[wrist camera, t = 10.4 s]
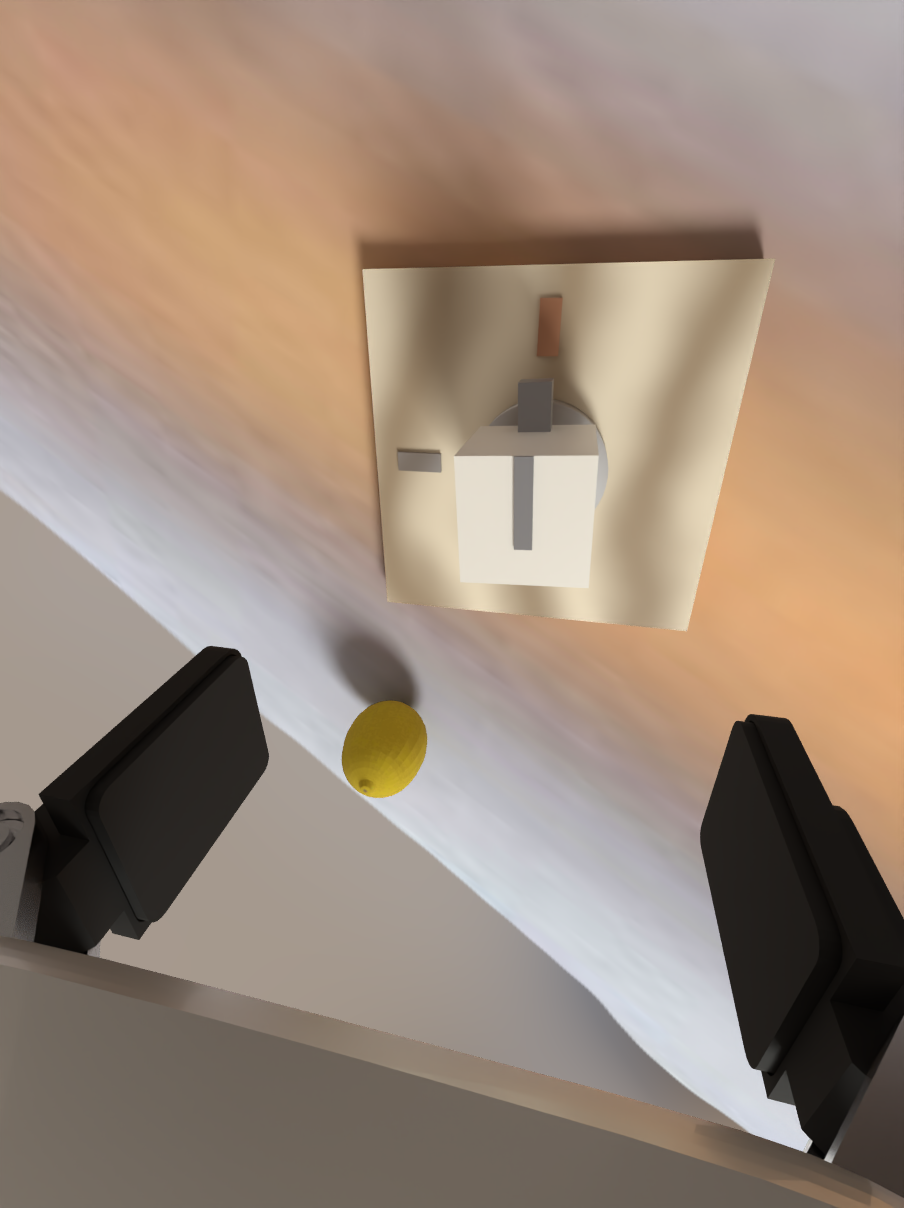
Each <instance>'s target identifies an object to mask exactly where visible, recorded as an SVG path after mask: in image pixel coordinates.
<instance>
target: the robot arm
mask: <svg viewBox="0 0 904 1208" xmlns="http://www.w3.org/2000/svg"><path fill="white" fill-rule="evenodd" d="M268 759H269V753H268V748H267V744H266V740H265V735H264V731H263V727H262V722H261V718H260V714H259V709H258V705H257V701H256V696H255V692H254V688H253V683H252V679H251V674H250V670H249V666H248V662H247V660H246V659H245V658H244V657H242V656H241V654H240V652H239V651H238V650H236V649H231V648H223V647H215V646H208V647H206V648H204V649H203V650H202V651H201V652H199V653H198V654H197V655H196V656H195V657H194V658H193V659H192V660H190V661H189V662H188V663H187V664H186V665H185V666H184V667H182V668H181V669H180V670H179V671H178V672H177V673H176V674H175V675H173V676H172V677H171V678H170V679H169V680H168V681H167V682H165V683H164V684H163V685H162V686H161V687H160V688H159V689H157V691H155V692H154V693H153V694H152V695H151V696H150V697H149V698H148V699H146V700H145V701H144V702H143V703H142V704H140V705H139V706H138V707H137V708H136V709H135V710H134V711H133V712H131V713H130V714H129V715H128V716H127V717H126V718H125V719H123V720H122V721H121V722H120V723H119V724H118V725H117V726H115V727H114V728H113V729H112V730H111V731H110V732H109V733H108V734H106V736H104V737H103V738H102V739H101V740H100V741H98V742H97V743H96V744H95V745H94V746H93V747H92V748H91V749H89V750H88V751H87V752H86V753H85V754H84V755H83V756H81V757H80V758H79V759H78V760H77V761H76V762H75V763H74V764H72V765H71V766H70V767H69V768H68V769H67V770H66V771H64V772H63V773H62V774H61V775H60V776H59V777H58V778H57V779H55V780H54V781H53V782H52V783H51V784H50V785H49V786H48V787H46V788H45V789H44V790H43V791H42V792H41V793H40V794H39V796H40V798H41V800H42V802H43V804H42V805H41V806H40V807H39V808H38V809H37V810H36V811H35V812H34V810H33V809H32V808H31V807H30V806H29V805H27V804H23V803H20V802H4V803H0V1208H904V919H903V917H902V915H901V913H900V911H899V909H898V907H897V905H896V903H895V901H894V900H893V898H892V896H891V894H890V892H889V890H888V888H887V886H886V884H885V882H884V880H883V878H882V877H881V875H880V873H879V871H878V869H877V867H876V865H875V863H874V861H873V859H872V857H871V856H870V854H869V852H868V850H867V848H866V846H865V844H864V842H863V840H862V838H861V836H860V834H859V833H858V831H857V829H856V827H855V825H854V823H853V821H852V819H851V818H850V816H849V815H848V814H847V812H846V811H845V810H844V809H842V808H841V807H840V806H833V805H832V803H831V801H830V799H829V797H828V795H827V793H826V791H825V789H824V787H823V785H822V783H821V781H820V779H819V777H818V775H817V773H816V771H815V769H814V767H813V765H812V763H811V761H810V759H809V757H808V755H807V753H806V751H805V749H804V747H803V745H802V743H801V741H800V739H799V737H798V735H797V733H796V731H795V729H794V727H793V725H792V724H791V722H790V721H789V720H788V719H786V718H778V717H771V716H763V715H755V714H750V715H748V717H747V718H746V720H745V722H743V721H736V722H735V723H734V725H733V728H732V731H731V734H730V737H729V740H728V743H727V747H726V750H725V753H724V756H723V759H722V762H721V765H720V769H719V772H718V775H717V778H716V781H715V784H714V787H713V791H712V794H711V797H710V800H709V803H708V806H707V809H706V813H705V816H704V819H703V822H702V826H701V832H700V842H701V849H702V854H703V858H704V863H705V868H706V872H707V877H708V882H709V886H710V891H711V896H712V900H713V905H714V910H715V914H716V919H717V924H718V928H719V933H720V938H721V942H722V947H723V952H724V956H725V961H726V966H727V970H728V975H729V980H730V984H731V989H732V994H733V998H734V1003H735V1008H736V1012H737V1017H738V1021H739V1026H740V1031H741V1035H742V1040H743V1045H744V1049H745V1053H746V1057H747V1060H748V1062H749V1065H750V1066H751V1067H752V1068H753V1069H756V1070H760V1071H761V1072H762V1076H763V1081H764V1085H765V1089H766V1094H767V1098H768V1099H772V1100H775V1101H779V1102H783V1103H787V1104H791V1105H795V1106H796V1110H797V1114H798V1118H799V1121H800V1125H801V1129H802V1130H803V1131H804V1132H805V1134H806V1135H807V1136H808V1137H809V1138H810V1139H809V1141H808V1142H807V1144H806V1146H805V1148H804V1150H803V1152H802V1151H799V1150H796V1149H793V1148H790V1147H787V1146H785V1145H782V1144H779V1143H776V1142H773V1141H770V1140H767V1139H764V1138H761V1137H758V1136H755V1135H752V1134H750V1133H747V1132H743V1131H741V1130H738V1129H734V1128H731V1127H727V1126H723V1125H720V1124H717V1123H713V1122H710V1121H706V1120H703V1119H700V1118H696V1117H693V1116H689V1115H686V1114H682V1113H679V1112H675V1111H672V1110H668V1109H665V1108H661V1107H658V1106H654V1105H651V1104H648V1103H644V1102H640V1101H637V1100H634V1099H630V1098H627V1097H623V1096H620V1095H617V1094H613V1093H609V1092H606V1091H602V1090H599V1089H594V1088H591V1087H587V1086H584V1085H580V1084H576V1083H572V1082H569V1081H565V1080H561V1079H558V1078H554V1077H550V1076H547V1075H543V1074H539V1073H535V1072H532V1071H528V1070H524V1069H521V1068H517V1067H513V1066H509V1065H506V1064H502V1063H498V1062H495V1061H491V1060H487V1059H483V1058H480V1057H476V1056H472V1055H469V1054H465V1053H461V1052H457V1051H454V1050H450V1049H446V1048H442V1047H439V1046H435V1045H431V1044H428V1043H424V1042H420V1041H416V1040H413V1039H409V1038H405V1037H401V1036H398V1035H393V1034H390V1033H386V1032H382V1031H378V1030H375V1029H371V1028H367V1027H363V1026H360V1025H356V1024H352V1023H348V1022H344V1021H341V1020H337V1019H333V1018H329V1017H326V1016H321V1015H318V1014H314V1013H310V1012H307V1011H302V1010H299V1009H295V1008H291V1007H287V1006H284V1005H280V1004H276V1003H272V1002H269V1001H265V1000H261V999H257V998H253V997H250V996H246V995H241V994H238V993H234V992H230V991H227V990H223V989H218V988H215V987H211V986H207V985H203V984H199V983H195V982H192V981H188V980H184V979H180V978H176V977H172V976H168V975H164V974H161V973H157V972H153V971H148V970H145V969H141V968H137V967H133V966H129V965H126V964H121V963H118V962H114V961H110V960H106V959H102V958H99V957H100V941H101V939H102V938H103V937H104V935H105V934H106V933H107V932H108V930H109V929H111V931H112V933H114V934H118V935H122V936H126V937H130V938H134V939H137V940H139V939H140V938H141V937H142V935H143V934H144V932H145V931H146V929H147V928H148V927H149V925H150V924H151V923H152V922H156V921H158V920H159V919H160V918H161V917H162V916H163V915H164V914H165V913H166V911H167V910H168V908H169V907H170V906H171V904H172V903H173V901H174V900H175V898H176V897H177V896H178V894H179V893H180V891H181V890H182V888H183V887H184V886H185V884H186V883H187V881H188V880H189V878H190V877H191V876H192V874H193V873H194V871H195V870H196V868H197V867H198V866H199V864H200V863H201V861H202V860H203V858H204V857H205V856H206V854H207V853H208V851H209V850H210V848H211V847H212V846H213V844H214V843H215V841H216V840H217V838H218V837H219V836H220V834H221V832H222V831H223V830H224V828H225V827H226V826H227V824H228V823H229V821H230V820H231V818H232V817H233V816H234V814H235V813H236V811H237V810H238V808H239V807H240V805H241V804H242V803H243V801H244V800H245V798H246V797H247V796H248V794H249V793H250V791H251V790H252V788H253V787H254V786H255V784H256V782H257V781H258V780H259V778H260V777H261V775H262V774H263V773H264V771H265V769H266V767H267V764H268Z"/></svg>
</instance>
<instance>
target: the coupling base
mask: <svg viewBox="0 0 904 1208" xmlns="http://www.w3.org/2000/svg"><path fill="white" fill-rule="evenodd" d="M774 262H775V259H738V260H700V261H661V262H622V263H584V264H545V265H507V266H468V267H429V268H391V269H362V270H363V283H364V297H365V310H366V323H367V336H368V350H369V363H370V376H371V390H372V403H373V416H374V429H375V443H376V456H377V469H378V483H379V496H380V509H381V522H382V536H383V549H384V562H385V576H386V589H387V602H395V603H405V604H416V605H426V606H436V607H446V608H456V609H467V610H477V611H487V612H497V613H507V614H518V615H528V616H538V617H548V618H558V619H569V620H579V621H589V622H599V623H609V624H620V625H630V626H640V627H650V628H660V629H671V630H681V631H687V628H688V624H689V620H690V616H691V612H692V607H693V603H694V599H695V595H696V591H697V586H698V582H699V578H700V574H701V569H702V565H703V561H704V557H705V553H706V548H707V544H708V540H709V536H710V532H711V527H712V523H713V519H714V515H715V510H716V506H717V502H718V498H719V494H720V489H721V485H722V481H723V477H724V473H725V468H726V464H727V460H728V456H729V451H730V447H731V443H732V439H733V435H734V430H735V426H736V422H737V418H738V414H739V409H740V405H741V401H742V397H743V392H744V388H745V384H746V380H747V376H748V371H749V367H750V363H751V359H752V354H753V350H754V346H755V342H756V338H757V333H758V329H759V325H760V321H761V317H762V312H763V308H764V304H765V300H766V295H767V291H768V287H769V283H770V279H771V274H772V270H773V266H774ZM540 378H554V385H553V415H552V425H589V424H596V434H597V444H598V454H599V458H598V471H597V485H596V498H595V511H594V524H593V538H592V551H591V564H590V577H589V588H573V587H552V586H530V585H509V584H487V583H466V582H460V568H459V548H458V528H457V508H456V488H455V469H454V455H455V454H456V453H457V452H458V451H459V450H460V449H461V448H462V447H463V445H464V444H465V443H466V442H467V441H468V440H469V439H470V438H471V436H472V435H473V434H474V433H475V432H476V431H477V430H478V429H479V428H480V426H518V382H519V381H520V380H521V379H540Z"/></svg>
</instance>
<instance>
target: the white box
mask: <svg viewBox="0 0 904 1208" xmlns="http://www.w3.org/2000/svg"><path fill="white" fill-rule="evenodd" d="M553 385H554V378H540V379H521V380H520V381H519V382H518V426H480V428H479V429H478V430H477V431H476V432H475V433H474V434H473V435H472V436H471V438H470V439H469V440H468V441H467V442H466V443H465V444H464V445H463V447H462V448H461V449H460V450H459V451H458V452H457V453H456V454H455V455H454V469H455V488H456V508H457V528H458V548H459V568H460V582H466V583H487V584H509V585H530V586H552V587H573V588H589V577H590V564H591V551H592V538H593V524H594V511H595V498H596V485H597V471H598V458H599V454H598V444H597V434H596V424H589V425H552V415H553Z"/></svg>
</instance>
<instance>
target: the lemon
mask: <svg viewBox="0 0 904 1208" xmlns="http://www.w3.org/2000/svg"><path fill="white" fill-rule="evenodd" d="M426 747H427V733H426V728H425V725H424V723H423V721H422V719H421V717H420V716H419V714H418V713H417V712H416V711H415V710H414V709H413V708H411V707H410V706H408V705H406V704H404V703H402V702H398V701H391V700H389V701H381V702H378V703H376V704H373V705H371V706H369V707H368V708H366V709H365V710H364V711H363V712H362V713H360V714H359V715H358V717H357V718H356V719H355V721H354V722H353V724H352V725H351V727H350V729H349V731H348V733H347V735H346V738H345V741H344V746H343V751H342V766H343V772H344V774H345V776H346V778H347V780H348V782H349V783H350V784H351V785H352V787H353V788H355V789H356V790H357V791H358V792H360V793H362V794H364V795H366V796H369V797H374V798H383V797H389V796H392V795H394V794H396V793H398V792H400V791H402V790H403V789H404V788H405V787H406V786H407V785H408V784H409V783H410V782H411V781H412V780H413V778H414V777H415V776H416V774H417V772H418V771H419V769H420V767H421V765H422V763H423V760H424V757H425V754H426Z"/></svg>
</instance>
